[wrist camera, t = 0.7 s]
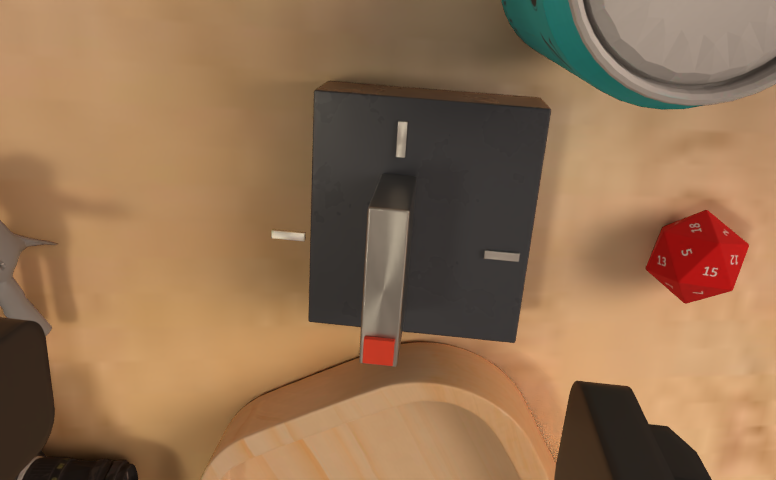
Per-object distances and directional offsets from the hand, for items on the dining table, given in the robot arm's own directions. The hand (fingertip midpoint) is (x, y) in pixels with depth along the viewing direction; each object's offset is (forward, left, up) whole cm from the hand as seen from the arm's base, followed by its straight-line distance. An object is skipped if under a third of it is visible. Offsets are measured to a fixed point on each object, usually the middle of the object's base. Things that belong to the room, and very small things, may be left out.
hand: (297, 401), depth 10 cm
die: (+4, +13, -20) cm, 24 cm away
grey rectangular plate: (+4, 0, -17) cm, 17 cm away
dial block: (+3, +1, -20) cm, 20 cm away
